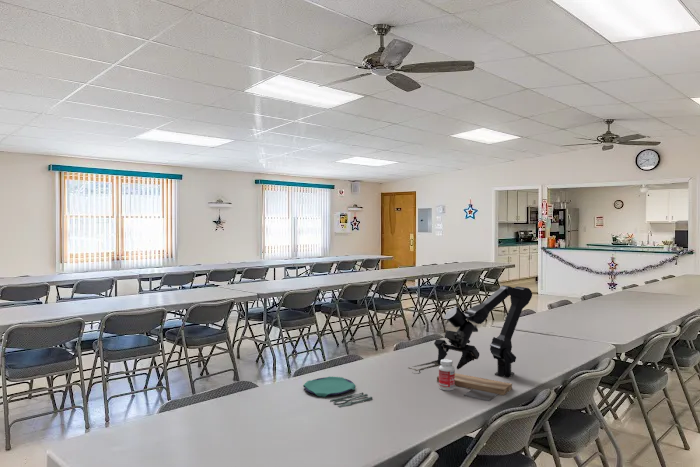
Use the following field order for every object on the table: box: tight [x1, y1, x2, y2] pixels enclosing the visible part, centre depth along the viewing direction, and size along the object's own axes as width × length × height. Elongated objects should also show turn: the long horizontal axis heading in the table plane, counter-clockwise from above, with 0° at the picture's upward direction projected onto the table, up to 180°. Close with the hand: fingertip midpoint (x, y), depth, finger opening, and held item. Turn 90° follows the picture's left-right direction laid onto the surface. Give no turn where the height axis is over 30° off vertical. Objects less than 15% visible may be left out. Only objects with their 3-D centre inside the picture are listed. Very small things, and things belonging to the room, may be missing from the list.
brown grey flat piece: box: [436, 372, 513, 402], centre depth 191 cm, size 18×28×2 cm, turn 52°
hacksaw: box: [408, 359, 441, 375], centre depth 221 cm, size 24×10×2 cm, turn 121°
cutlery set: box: [302, 376, 373, 408], centre depth 189 cm, size 20×30×2 cm, turn 30°
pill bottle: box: [438, 358, 456, 391], centre depth 192 cm, size 6×6×11 cm
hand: (447, 366), depth 192 cm, fingers open, 9 cm apart
